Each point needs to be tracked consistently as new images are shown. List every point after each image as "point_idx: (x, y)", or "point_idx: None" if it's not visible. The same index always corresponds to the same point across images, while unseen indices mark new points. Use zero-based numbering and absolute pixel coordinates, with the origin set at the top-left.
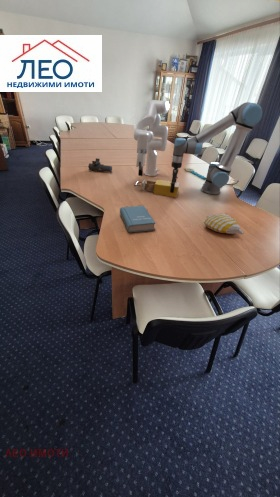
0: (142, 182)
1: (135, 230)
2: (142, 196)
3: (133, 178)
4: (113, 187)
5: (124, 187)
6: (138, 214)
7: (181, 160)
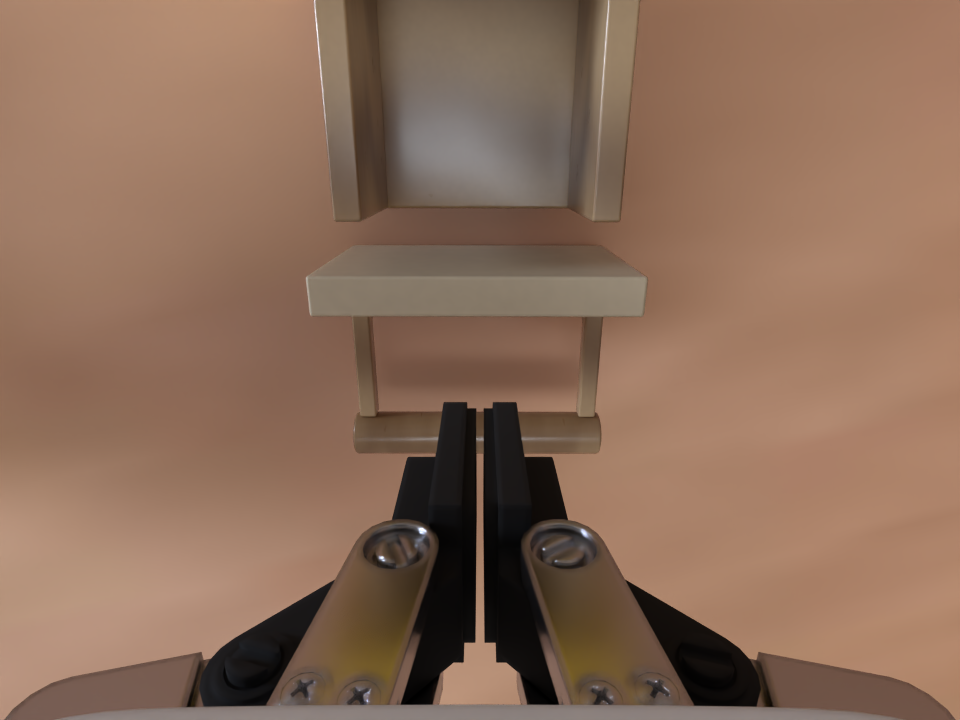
0: (589, 303)
1: None
2: (825, 187)
3: (21, 538)
4: None
5: None
6: None
7: None
